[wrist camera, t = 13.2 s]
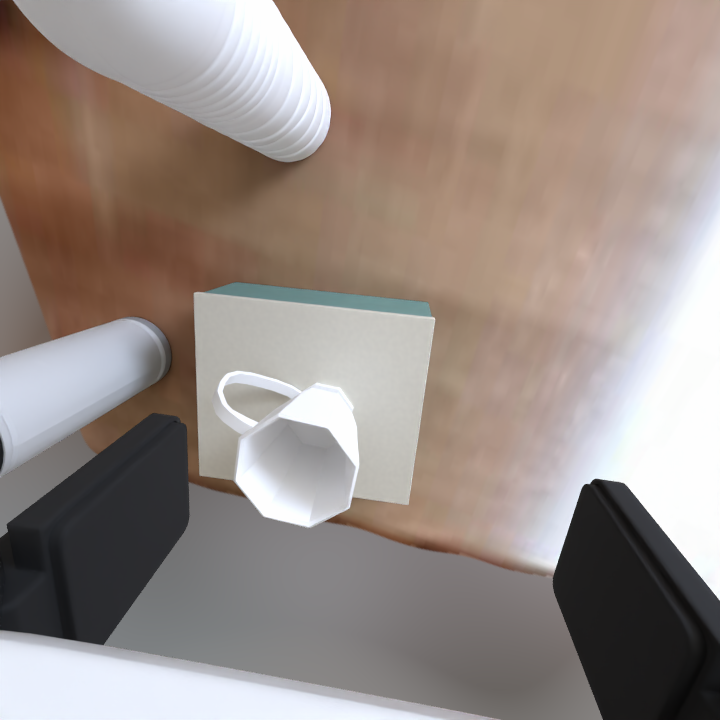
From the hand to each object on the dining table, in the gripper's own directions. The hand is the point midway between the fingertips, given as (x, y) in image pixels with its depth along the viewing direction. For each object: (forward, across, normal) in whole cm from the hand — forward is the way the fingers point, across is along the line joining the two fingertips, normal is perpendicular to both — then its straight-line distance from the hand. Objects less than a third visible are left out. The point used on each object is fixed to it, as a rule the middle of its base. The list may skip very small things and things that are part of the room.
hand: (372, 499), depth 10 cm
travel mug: (+26, +22, +7) cm, 35 cm away
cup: (+19, +6, +6) cm, 21 cm away
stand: (+26, +5, +7) cm, 27 cm away
